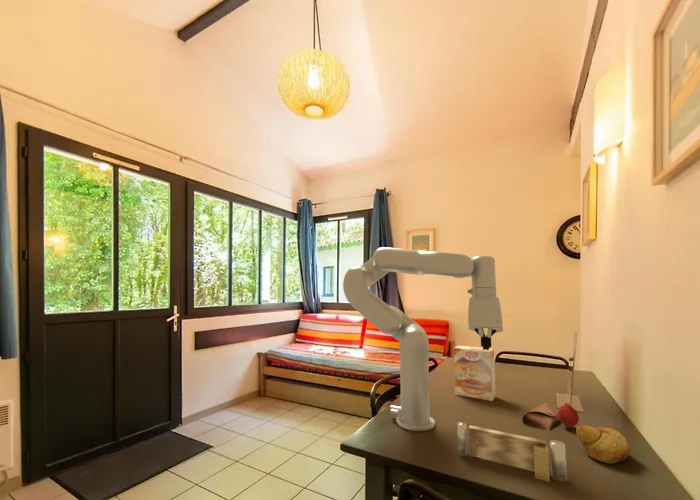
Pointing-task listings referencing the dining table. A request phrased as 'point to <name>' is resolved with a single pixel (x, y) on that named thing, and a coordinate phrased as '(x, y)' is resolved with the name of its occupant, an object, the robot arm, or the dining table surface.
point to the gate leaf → (503, 447)
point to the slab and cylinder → (556, 462)
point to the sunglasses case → (541, 417)
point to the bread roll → (603, 443)
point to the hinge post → (462, 439)
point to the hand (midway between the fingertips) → (486, 349)
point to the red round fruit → (568, 415)
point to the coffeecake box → (474, 372)
